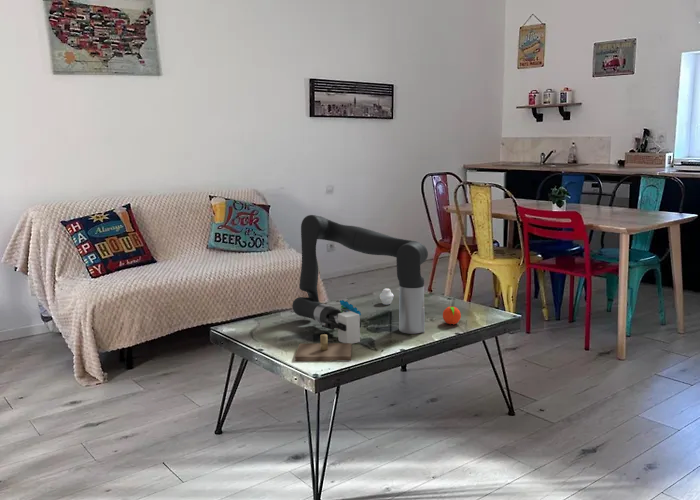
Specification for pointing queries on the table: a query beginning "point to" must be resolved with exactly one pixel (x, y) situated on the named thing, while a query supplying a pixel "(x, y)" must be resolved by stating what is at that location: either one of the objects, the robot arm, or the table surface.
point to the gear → (348, 307)
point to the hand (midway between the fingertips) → (352, 326)
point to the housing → (349, 327)
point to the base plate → (323, 351)
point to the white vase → (386, 296)
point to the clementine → (451, 315)
